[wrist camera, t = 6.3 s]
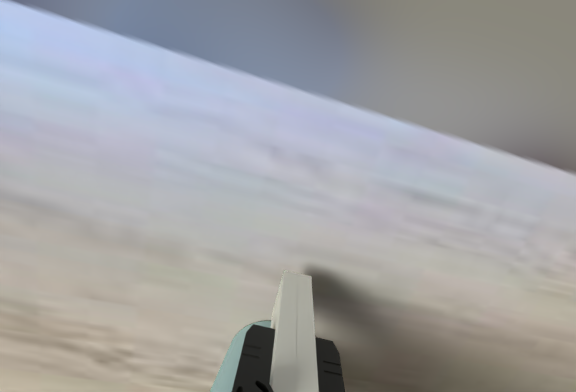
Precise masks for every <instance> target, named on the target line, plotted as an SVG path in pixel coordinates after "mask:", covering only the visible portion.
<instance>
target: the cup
mask: <svg viewBox="0 0 576 392" xmlns="http://www.w3.org/2000/svg"><path fill="white" fill-rule="evenodd" d="M253 324H255V325H260V326H264V327H268V328H271V321H260V322H256V323H253ZM253 324H250V325H248V326H246V327H244V328H243V329H242V330H241V331H239V332H238V334H237V335H236V336H235V337H234V338H233V340H232V343H231V345H230V347H229V349H228V351H227V354H226V356H225V358H224V361H223V363H222V365H221V367H220V370H219V372H218V374H217V376H216V379H215V381H214V383H213V386H212V388H211V390H210V392H231V391H232V388H233V384H234V380H235V376H236V372H237V368H238V364H239V360H240V355H241V351H242V347H243V343H244V339H245V335H246V332H247V331H248V330H249V328H250V327H251V326H252V325H253Z"/></svg>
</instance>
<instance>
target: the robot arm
mask: <svg viewBox="0 0 576 392" xmlns="http://www.w3.org/2000/svg"><path fill="white" fill-rule="evenodd" d="M231 392H345V389H344V382H343V377H342V369H341V363H340V357H339V352H338V350H337V348H336V347H335V345H334V343H333V341H329V340H324V339H320V338H316V337H315V326H314V310H313V295H312V279H311V276H308V275H304V274H299V273H295V272H291V271H287V270H284V272H283V275H282V279H281V283H280V286H279V290H278V294H277V297H276V301H275V305H274V308H273V313H272V320H271V328H268V327H264V326H260V325H255V324H253V325H252V326H251V327H250V328H249V330H248V331H247V332H246V335H245V339H244V343H243V347H242V351H241V355H240V360H239V364H238V368H237V372H236V376H235V380H234V384H233V388H232V391H231Z"/></svg>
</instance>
